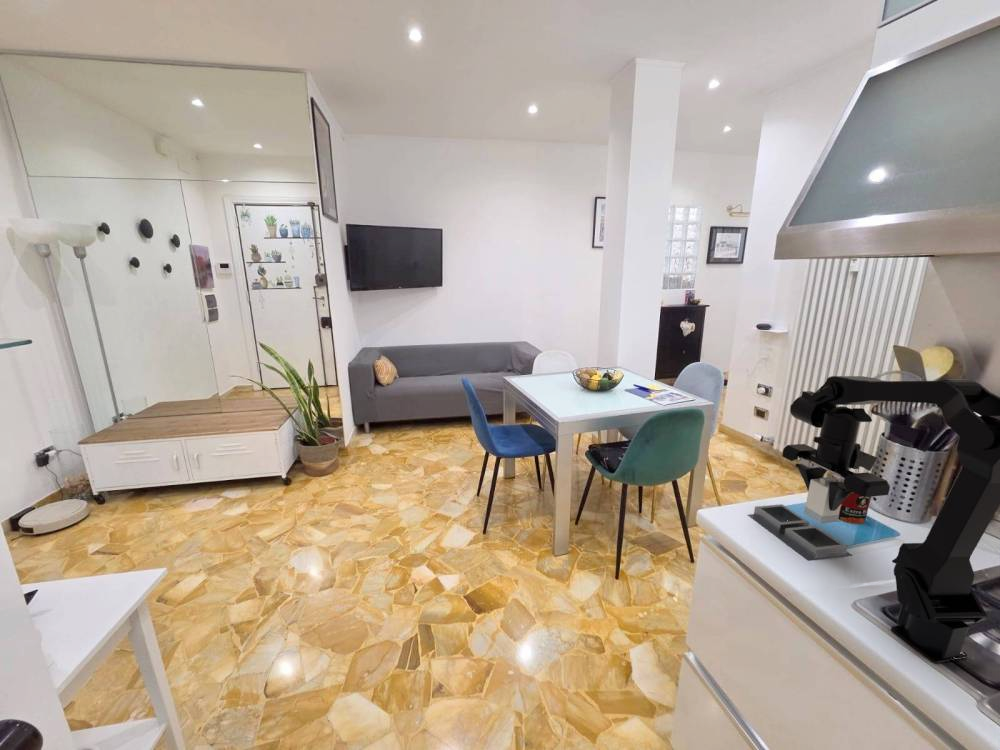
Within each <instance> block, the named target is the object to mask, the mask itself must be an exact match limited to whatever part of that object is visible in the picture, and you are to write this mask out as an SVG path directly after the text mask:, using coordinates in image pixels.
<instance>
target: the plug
mask: <svg viewBox="0 0 1000 750" xmlns="http://www.w3.org/2000/svg"><path fill="white" fill-rule="evenodd" d="M832 477H833V476H830V477H822V478H820V479H811V481H810V486H809V491H808V490H807V492H808V493H807V497H806V501H805V505H804V510H803V514H804V515H806V516H809V518H812V519H813V520H815V521H816V522H818V523H819V524H829V523H830V524H831V523H838V521H839V519H838V518H839V511H840V507H841V505H840V506H839V507H838V508H837V509H836V510H835V511H831V510H830V508H829V482H837V480H836V479H834V478H832Z"/></svg>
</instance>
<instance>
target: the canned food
mask: <svg viewBox="0 0 1000 750" xmlns="http://www.w3.org/2000/svg"><path fill="white" fill-rule="evenodd" d="M853 472H854V471H853ZM854 473H856V472H854ZM831 477H832V478H834V479H836V480H837V481H838V480H839V476H837V475H835V474H833V473H832V476H831ZM871 500H872V496H871V497H863V496H859V495H858V494H856V493H854V492H852V493H851V494H850V495H849V496H848V497H847V498H846V499H845V500H844V501H843V502H842V503H841V507H840V511H839V518H838V521H839V520H840V521H842V522H844V523H849V524H854V525H861V524H864V523H865V522H866V519H867V515H868V511H869V508H870V504H871Z"/></svg>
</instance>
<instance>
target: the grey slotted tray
mask: <svg viewBox="0 0 1000 750" xmlns="http://www.w3.org/2000/svg"><path fill="white" fill-rule="evenodd" d="M747 517H749V518H751V520H753V521H754V522H755V523H757V524H759V525H760V526H761V527H763V528H764V529H765V530H766V531H767V532H769V533H770V534H772V535H773V536H774V537H776V538H777V539H778V540H780V541H781V542H782V543H784V544H785V545H786V546H788V547H789V548H790V549H791V550H793V551H794V552H796V554H798V555H800V556H801V557H802V558H804V559H805V560H807V562H812V561H818V560H828V559H829V560H830V559H836V558H844V557H845V558H847V557H853V554H852V553H850V552H848V551H847V550H848V546H847V545H846V544H844V543H842V542H841V541H839V540H838V539H837V538H835V537H834V536H831V535H830V534H828V533H827V532H826V531H824V530H823V529H821V528H820V527H818V526H816V525H809V524H810V521H809V520H807V519H806V518H804V517H802V515H799V514H798V513H796V512H795V511H793V510H791V509H790V508H788V507H787V506H786V505H784V504H782V503H781V504H771V505H770V504H769V505H761V506H754V511H753V514H750V513H749V514H747ZM787 520H788V521H787Z"/></svg>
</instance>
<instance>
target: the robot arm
mask: <svg viewBox="0 0 1000 750" xmlns="http://www.w3.org/2000/svg"><path fill="white" fill-rule="evenodd" d="M881 402H896V403H898V402H899V403H900V402H901V403H921V404H922V403H924V404H935V405H936V406H937V407H939V409H940V411H941V413H942V416H943V420H944V422H945V424H946V425H947V426H948V427H949V428H950V429H951V430H952V431H954V433H955V434H957V435H958V439H957V444H956V452H957V455H958V458H959V461H960V464H961V467H960V470H959V472H958V474H957V476H956V478H955V480H954V482H953V484H952V487H951V488H950V490H949V493H948V494H947V496H946V497H945V500H944V502H943V503H942V506H941V508H940V510H939V511H938V513H937V515H936V518H935V520H934V522H933V524H932V526H931V528H930V530H929V532H928V534H927V536H926V538H925V540H924V541H923V542H909V543H907V542H905V543H902V544H901V545H900V546H899V550H898V553H897V556H896V557H895V558H894V559H892V561H891V562H892V564H895V565H894V568H893V576H894V577H895V586H896V595H897V596H896V597H897V602H899V603H900V604H901V606H900V610H899V614H898V616H897V617H898V618H897V620H896V623H897V624H898V625H892V626H891V627H890V631H892V632H893V633H894V634H896V635H897V636H898V637H899V638H900V639H901V640H903V641H905V642H906V643H907V644H909V645H910V646H911V647H912V648H914V649H915V650H916V651H917V652H918V653H920V654H921V655H923V656H924V657H926V658H927V659H928V660H930V662H933V663H935V664H940V663H941V664H942V663H946V662H945V661H947V662H949V661H948V660H951V658H952V659H954V658H953V657H955V658H963V657H967V658H968V654H967V653H966V652H964V651H963V653H964V654H965V655H963V654H960V652H961V650H962V649H963V646H964V644H965V640H966V638H967V634H968V631H969V629H970V625H969V624H967V623H976V624H977V623H979V624H980V622H982V621H983V620H984V619H986V618H987V617H988V614H987V613H986V611H985V609H984V607H983V606H982V603H981V602H980V601H979V598H978V596H977V595H976V593H975V591H974V590H973V588H972V587H973V584H974V580H975V577H976V576H975V571H974V569H973V566H972V563H971V556H972V554H973V553H974V551H975V550H976V548H977V546H978V544H979V542H980V540H981V539H982V537H983V535H984V534H985V532H986V530H987V528H988V527H989V525H990V523H991V521H992V519H993V517H994V515H995V514H996V513H997V510H998V508H999V507H1000V396H999V395H996V394H994V393H993V392H991V391H989V390H988V389H987V388H986V387H984V386H983V385H982V384H980V383H979V382H977V381H975V380H972V379H967V378H959V379H958V378H955V379H954V378H951V379H950V378H944V379H943V378H942V379H938V380H897V381H895V380H891V381H889V380H888V381H887V380H882V379H880V378H876V377H869V376H862V375H855V376H854V375H832V376H829V377H827V378H826V380H825V382H824V384H823V385H821V386H820V388H818V389H817V390H816V391H815V392H814V391H808V390H806V391H805V390H804V391H802V392H801V395H800V396H799V397H797V398H796V399H795V400H794V401H793V402H792V404H791V405H790V408H789V409H790V410H789V411H790V414H791V416H792V417H793V418H794V419H797V420H799V421H802V422H803V423H806V424H807V425H811V426H812V427H814V428H816V429H817V428H818V429H820V432H819V436H814V437H813V442H814V443H816V444H817V447H816V448H814V447H812V446H809V445H808V444H805V443H799V444H787V445H786V446H785V447H784V448H782V449H783V450H782V454H781V455H782V458H784V459H786V460H788V461H791V462H795V461H796V460H798V463H795V467H796V468H797V469H798V471H799V473H800V475H801V477H802V479H803V481H804V484H805V487H806V489H807V492H808V491H809V486H810V481H811V479H820V478H824V475H826V473H827V472H829V473H831V474H832V475H833V474H835V475H837V476H839V480H838V481H837V482H829V508H830V510H831V511H835V510H836V509H837V508H838V507H839V506H840V505H841V503H842V502H843V501H844V500H845V499H846V498H847V497H848V496H849V495H850V494H851V493H852V492H854V493H856V494H858V495H859V496H863V497H871V498H872V497H879V496H880V497H883V496H889V493H890V489H891V486H890V483H889V482H888V480H887V479H884V478H882V477H880V476H878V475H876V474H873V473H871V471H872V468H873V467H874V465H876V461H878V457H877V456H875V455H872V454H870V453H867V452H865V451H863V450H861V448H862V445H861V444H860V443H857V437H858V433H859V428H860V424H861V423H872V422H873V418H872V417H871V416H870V415H869V414H868V413H867V412H866V411H865V409H864V408H859V407H857V408H850V407H848V406H855V405H856V406H863V405H872V404H880V403H881ZM839 405H840V406H839ZM860 467H861V468H863V469H865V470H866V471H867V472H855V473H854V471H851V470H850V469H853V470H859V469H860Z"/></svg>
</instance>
